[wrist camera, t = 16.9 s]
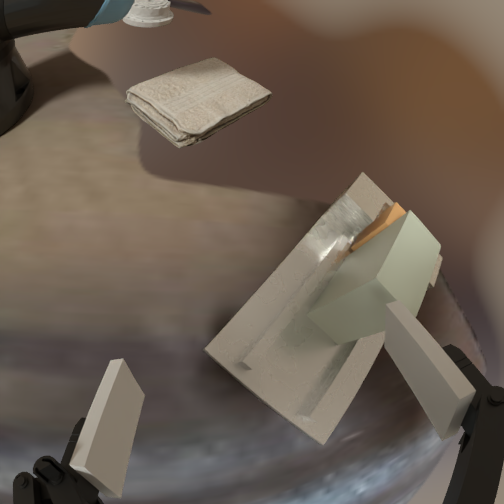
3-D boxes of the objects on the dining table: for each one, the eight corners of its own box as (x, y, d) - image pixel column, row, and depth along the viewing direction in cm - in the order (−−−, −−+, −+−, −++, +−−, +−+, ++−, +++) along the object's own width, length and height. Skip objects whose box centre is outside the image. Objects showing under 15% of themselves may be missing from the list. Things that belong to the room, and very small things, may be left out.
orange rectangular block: (350, 248, 33) (385, 222, 28) (363, 227, 35) (396, 201, 30) (378, 276, 33) (415, 254, 28) (389, 254, 35) (423, 232, 30)
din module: (305, 314, 28) (375, 277, 20) (348, 255, 33) (410, 209, 24) (338, 345, 28) (414, 320, 19) (375, 283, 33) (441, 245, 24)
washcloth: (118, 106, 33) (119, 87, 30) (211, 65, 42) (216, 49, 39) (182, 158, 32) (187, 139, 30) (269, 104, 42) (277, 88, 39)
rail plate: (202, 350, 24) (218, 340, 19) (335, 199, 37) (362, 171, 32) (318, 444, 24) (357, 451, 19) (410, 275, 36) (442, 258, 31)
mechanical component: (176, 14, 47) (130, 9, 44) (180, -4, 43) (133, -8, 40) (167, 31, 43) (115, 26, 40) (172, 11, 39) (118, 6, 36)
